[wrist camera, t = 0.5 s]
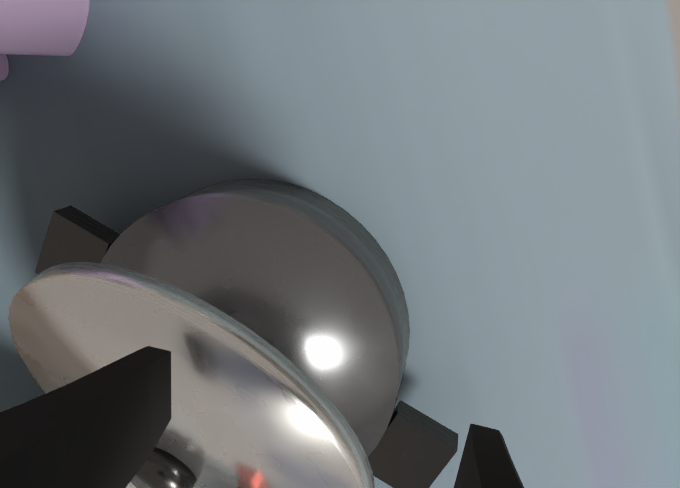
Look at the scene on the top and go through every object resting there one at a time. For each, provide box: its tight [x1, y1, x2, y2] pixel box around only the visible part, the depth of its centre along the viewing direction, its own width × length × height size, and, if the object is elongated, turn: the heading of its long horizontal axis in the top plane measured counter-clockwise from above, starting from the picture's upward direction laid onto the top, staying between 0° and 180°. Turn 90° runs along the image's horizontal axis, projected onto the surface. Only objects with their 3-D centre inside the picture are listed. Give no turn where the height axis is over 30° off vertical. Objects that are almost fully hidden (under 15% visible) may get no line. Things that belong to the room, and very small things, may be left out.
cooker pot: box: [35, 179, 458, 488], centre depth 23 cm, size 14×18×4 cm
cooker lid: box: [8, 262, 375, 488], centre depth 19 cm, size 14×14×2 cm
